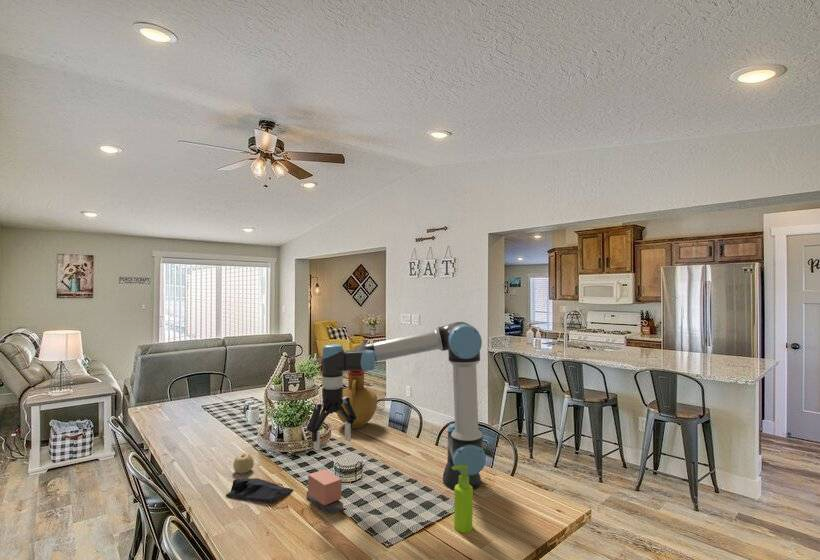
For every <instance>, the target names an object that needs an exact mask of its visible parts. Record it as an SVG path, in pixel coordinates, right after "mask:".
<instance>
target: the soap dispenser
mask: <svg viewBox="0 0 820 560" xmlns="http://www.w3.org/2000/svg"><path fill="white" fill-rule="evenodd" d="M452 469H453V470H458V469H461V475H459V484H457V485H455V489H454V503H453V504H454V505H453V506H454V509H453V510H454V512H453V513H454V514H453V516H454V517H453V522H454V523H453V528H454V530H456V532H458V533H462V534H463V533H464V534H465V533H470V532H471V531H472V530H473V511H474V510H473V504H474V503H473V500H474V499H473V495H474V493H473V491H474V489H473V487H472V486H471V485H469V476H468V475H466V472H467V470H469V468H468V466H467V465H456V466H452Z"/></svg>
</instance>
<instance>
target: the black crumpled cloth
mask: <svg viewBox="0 0 820 560" xmlns="http://www.w3.org/2000/svg"><path fill="white" fill-rule="evenodd" d="M293 491H294V489H293V488H289V487H284V486H281V485H279V484H276V483H274V482H272V481H268V480H264V479H262V478H258V477H257V478H255V477H254V478H249V477H240V478H235V479H233V481H232V486H231V488H230V491H229V492H227V493H226V494H225V496H226V497H228V498H231V497H232V498H235V499H238V500H244V501H247V500H249V501H251V502H252V501H253V502H258V503H265V504H267V503H268V504H271V503H273V502H275V501H277V500H279V499H281V498H284V497H285V496H288V495H290V494H291V493H292V492H293Z"/></svg>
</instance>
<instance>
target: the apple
mask: <svg viewBox="0 0 820 560" xmlns="http://www.w3.org/2000/svg"><path fill="white" fill-rule="evenodd" d="M254 463H255V462H254V457H253V455H251V454H250V453H248V452H243V453H240V454H238V455H237V456H236V457H235V458H234V460H233V469H234V471H235V473H236V474H247V473H249V472H250V471H251V470H252V469H253V468H254Z"/></svg>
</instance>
